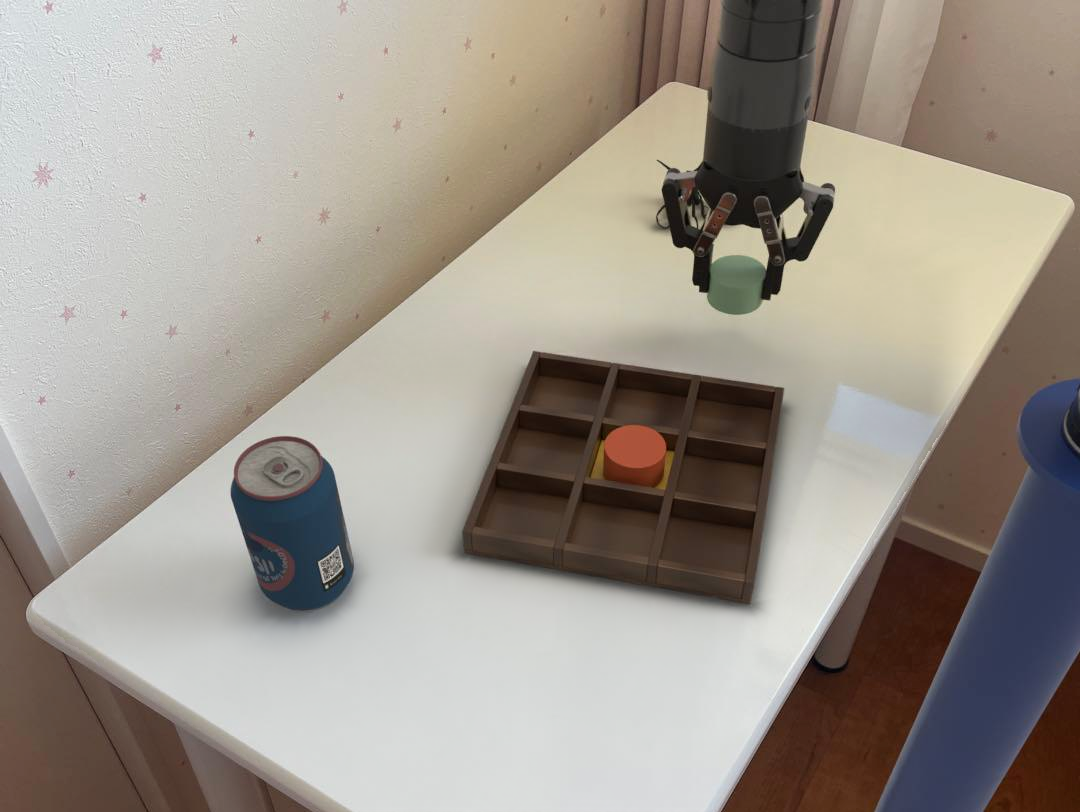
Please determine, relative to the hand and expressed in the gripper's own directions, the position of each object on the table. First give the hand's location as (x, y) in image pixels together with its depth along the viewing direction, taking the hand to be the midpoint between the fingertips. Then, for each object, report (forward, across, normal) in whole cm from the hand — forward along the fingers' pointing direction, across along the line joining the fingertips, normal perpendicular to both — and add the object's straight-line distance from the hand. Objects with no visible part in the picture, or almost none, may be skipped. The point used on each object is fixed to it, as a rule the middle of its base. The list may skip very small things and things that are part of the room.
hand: (735, 290), depth 95 cm
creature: (+5, +6, -19) cm, 21 cm away
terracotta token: (+5, +5, +19) cm, 20 cm away
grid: (+5, +5, +19) cm, 20 cm away
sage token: (+1, 0, 0) cm, 1 cm away
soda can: (+5, +26, +35) cm, 44 cm away
